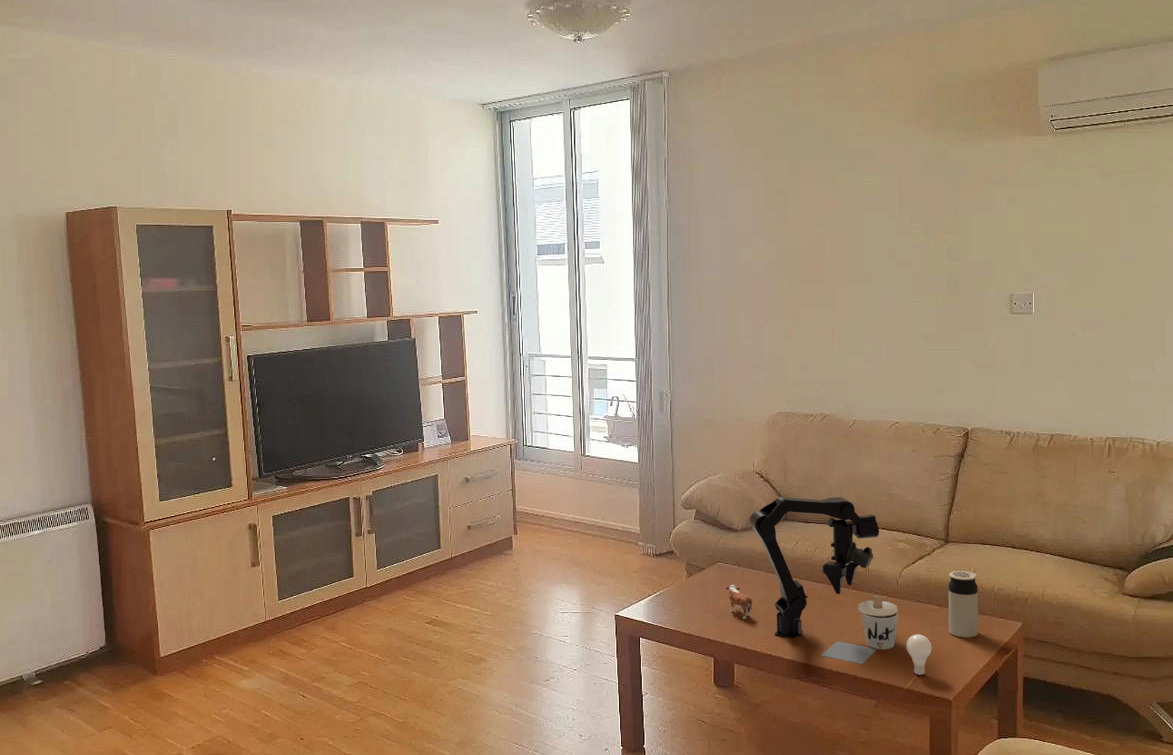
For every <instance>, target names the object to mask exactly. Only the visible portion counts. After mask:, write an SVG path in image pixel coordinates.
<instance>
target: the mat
mask: <svg viewBox="0 0 1173 755" xmlns="http://www.w3.org/2000/svg"><path fill="white" fill-rule="evenodd" d="M877 651H878V649H876V648H872V647H870V646H864V645H860V644H859V645H858V644H854V643H853V644H852V643H848V642H844V641H838V640H836V642H834V643H833V644H832V645H831V646H830V647H829V648H827V650H825V651H824V652H823V653H822V654H821V655H820V656H821V657H825V658H826V657H827V658H830V659H832V658H833V659H836V660H840V661H844V662H850V663H855V664H859V665H863V664H864V663H865V662H867V660H868V659H870V657H871V656H873V655H874V654H875V652H877Z"/></svg>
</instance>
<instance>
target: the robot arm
mask: <svg viewBox="0 0 1173 755" xmlns="http://www.w3.org/2000/svg"><path fill="white" fill-rule="evenodd" d="M855 509H856V508H855V505H854V504H853V503H852V502H851V501H849V500H848V499H846V498H844V497H842V496H836V497H835V496H834V497H828V498H825V499H811V498H798V497H796V498H795V497H786V496H779V497H777V498H775V499H774V500H773V501H772V502H770V503H768V504H766V505H765V506H763V507H762V508H761V509H759V510H758V511H754V512H753V513H751V514H750V517H749V519H748V520H749V525H750V526H751V527H752V530H753V531H754V532H755V534H756V535H757V537H758V538H759V539H760V541H761V542H762V544H763V546H764V549H765V551H766V553H767V556H768V558H769V561H770V563H771V566H772V568H773V569H774V572H775V575H776V576H777V579H778V582H779V592H780V594H781V595H780V598H778V600H777V601H776V602H775V603H774V606H775V609H776V610H777V611H778V612H777V613H776V632H774V635H775V636H779V637H784V638H791V639H796V638H797V637H799V635H800V634H802V633H803V632H804V631H803V627H802V625H803V624H802V619H801V616H802V614H803V613H802V612H803V611H804V610H805V609H806V606H807V605H808V600H807V599H808V598H809V597H808V595H806V593H805V589H804V586H803V584H801V583H800V582H799V581H798V580H797V579H795V580H794V579H793V576H792V574H791V572H790V569H789V567H788V565H787V562H786V559H785V558H784V554H783V552H782V550H781V548H780V546H779V542H778V541H777V540H778V539H777V531H776V530H777V529H776V527H775V526H777V525H778V524H779V523H780V521H781V520H782V518H784V516H785V515H786V514H787V513H789V512H790V513H801V514H802V513H804V514H814V515H815V514H817V515H818V514H819V515H820V514H821V515H825V516H828V517H830V518H829V519H828V520H827V521H826V522H825V524H826V525H827V526H828V527H830V528H832V532H833V533H832V535H833V538H832V539H833V542H831V543H830V545H831V546H830V547H831V548H833V555H832V556H831V560H829V561H828V562H826V563H824V564H823V565H822V568H821V569H822V574H824V575H825V576H826V577H827V579H828V581H829V582H830V584H831V586H832V587H833V590H834V592H835V594H837V595H840V594H841V590H842V584H843V582H842V581H843V578H845V581H846V584H847V586H852V585H853V581H854V577H855V574H856V570H857V568H858V567H860V568H863V569H866V568H867V567H868V566H870V565H871V562H872V560H873V559H874V554H873V549H872V548H871V547H869V546H866V547H865V548H864V549H863V548H858V547H857V543H856V541H854V540H853V539H854V538H853V536H854V537H856V538H857V539H859V540H861V539H872V538H873V539H874V538H878V537H879V534H880V528H879V525H878V522H877V517H876V516H875V515H874V514H867V515H860V516H859V515H858V513H856V511H855ZM835 518H836V519H835ZM847 520H848V521H847ZM849 520H850V521H849Z"/></svg>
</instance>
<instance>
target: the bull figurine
mask: <svg viewBox="0 0 1173 755" xmlns="http://www.w3.org/2000/svg"><path fill="white" fill-rule="evenodd" d="M725 589H726V590H727V591H729V600H730V604H731V605H730V610H729V612H730V613H733V612H734V606H737V607H738V610H737V612H738V613H741V612H743V617H742V620H746V618H747V617H749V616H750V615H752V612H753V608H752V605H753V600H752V598H751V597H749V596H748V595H746V594H744V593H742V592H741V591H739V590H741V587H738V586H737V587H736V585H735V584H730V585H729V586H726V587H725Z"/></svg>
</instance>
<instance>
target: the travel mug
mask: <svg viewBox="0 0 1173 755" xmlns="http://www.w3.org/2000/svg"><path fill="white" fill-rule="evenodd" d="M949 577H950V581H949V583H948V632H949V633H950V634H951V635H953V636H954V637H958V638H965V639H969V638H974V637H976V636H978V635H979V620H978V618H979V608H978V607H979V605H978V604H979V603H978V602H979V601H978V600H979V598H978V597H979V595H978V594H979V592H978V589H979V588H978V585H977V584H978V583H977V582H976V580H977V574H976V573H975V572H972V571H966V570H955V571H951V572H950V573H949Z"/></svg>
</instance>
